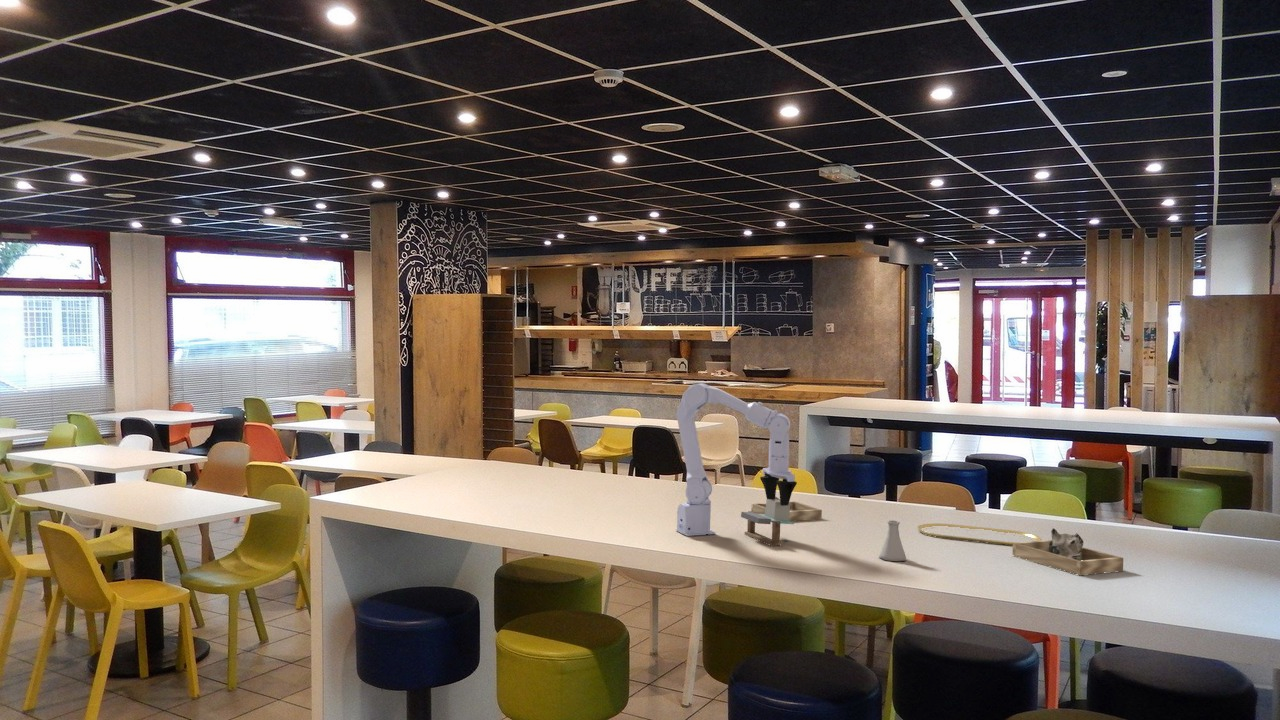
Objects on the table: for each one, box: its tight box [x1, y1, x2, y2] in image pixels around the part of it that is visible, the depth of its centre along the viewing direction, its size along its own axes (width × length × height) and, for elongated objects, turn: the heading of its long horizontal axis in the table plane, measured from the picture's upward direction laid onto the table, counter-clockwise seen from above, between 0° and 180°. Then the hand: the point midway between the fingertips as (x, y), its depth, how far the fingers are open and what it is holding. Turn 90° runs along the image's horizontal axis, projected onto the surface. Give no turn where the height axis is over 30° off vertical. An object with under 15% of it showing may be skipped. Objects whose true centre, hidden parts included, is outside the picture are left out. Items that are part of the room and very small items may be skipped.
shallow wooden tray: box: [1011, 539, 1124, 576], centre depth 235 cm, size 15×22×4 cm
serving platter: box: [917, 523, 1043, 546], centre depth 267 cm, size 19×35×2 cm, turn 65°
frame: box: [744, 510, 782, 547], centre depth 255 cm, size 3×17×7 cm, turn 22°
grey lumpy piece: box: [1049, 528, 1084, 561], centre depth 235 cm, size 16×9×10 cm, turn 160°
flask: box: [878, 519, 907, 562], centre depth 236 cm, size 7×7×10 cm
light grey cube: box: [765, 498, 791, 520], centre depth 257 cm, size 5×5×5 cm
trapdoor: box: [740, 511, 795, 525], centre depth 256 cm, size 11×12×2 cm
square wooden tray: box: [750, 501, 823, 522], centre depth 293 cm, size 17×16×3 cm
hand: (777, 503), depth 257 cm, fingers open, 7 cm apart
